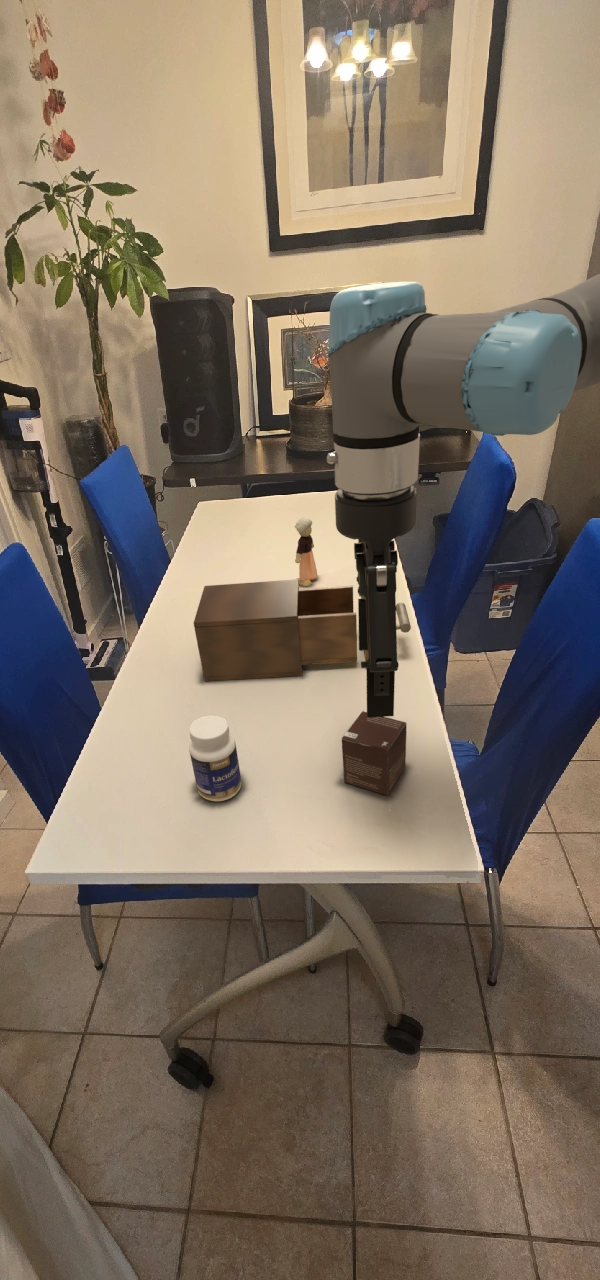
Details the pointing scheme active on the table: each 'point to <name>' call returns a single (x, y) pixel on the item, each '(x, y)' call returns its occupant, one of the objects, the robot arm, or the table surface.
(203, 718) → the pill bottle
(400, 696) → the table surface
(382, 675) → the robot arm
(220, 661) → the cabinet
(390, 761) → the box
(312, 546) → the grandmother figurine
